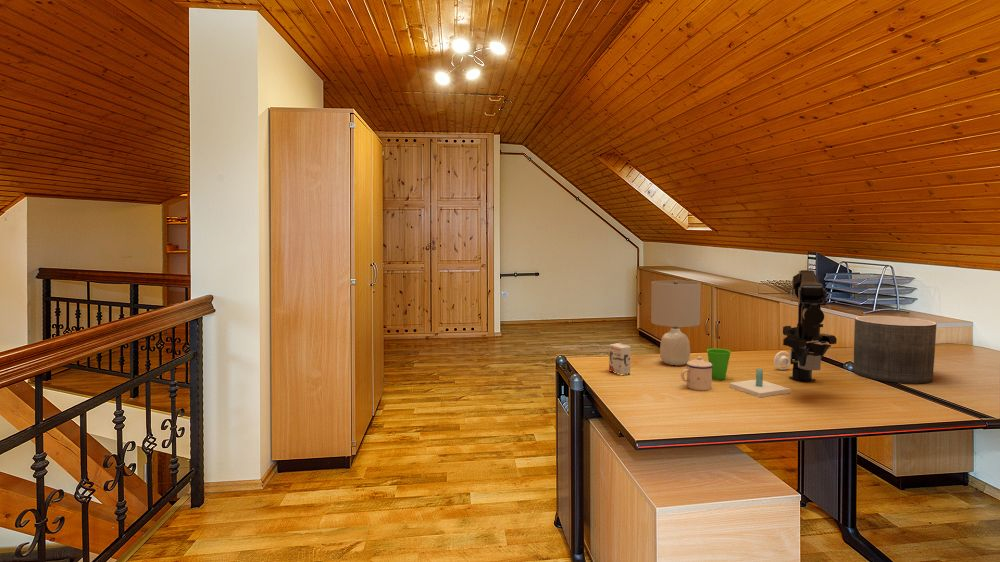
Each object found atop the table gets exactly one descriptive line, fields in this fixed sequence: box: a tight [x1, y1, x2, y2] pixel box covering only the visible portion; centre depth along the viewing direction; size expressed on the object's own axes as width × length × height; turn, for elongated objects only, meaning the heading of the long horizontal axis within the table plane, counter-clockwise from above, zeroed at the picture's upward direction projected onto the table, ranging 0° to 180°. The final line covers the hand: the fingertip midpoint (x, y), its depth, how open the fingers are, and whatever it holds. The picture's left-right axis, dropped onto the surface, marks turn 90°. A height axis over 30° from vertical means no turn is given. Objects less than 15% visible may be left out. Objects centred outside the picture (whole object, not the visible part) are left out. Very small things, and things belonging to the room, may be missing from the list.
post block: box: [728, 368, 791, 398], centre depth 187 cm, size 14×14×8 cm
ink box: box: [608, 342, 632, 374], centre depth 213 cm, size 9×5×12 cm, turn 25°
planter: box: [852, 315, 937, 385], centre depth 203 cm, size 25×25×22 cm
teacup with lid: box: [680, 355, 713, 391], centre depth 191 cm, size 12×9×12 cm
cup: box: [705, 348, 732, 381], centre depth 203 cm, size 9×9×11 cm
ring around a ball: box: [773, 350, 792, 371], centre depth 215 cm, size 8×6×8 cm
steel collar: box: [798, 352, 822, 372], centre depth 178 cm, size 6×6×5 cm
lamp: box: [650, 280, 702, 367], centre depth 226 cm, size 20×20×37 cm
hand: (809, 365), depth 179 cm, fingers closed on steel collar, 6 cm apart
